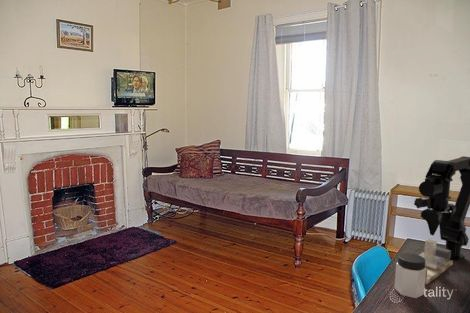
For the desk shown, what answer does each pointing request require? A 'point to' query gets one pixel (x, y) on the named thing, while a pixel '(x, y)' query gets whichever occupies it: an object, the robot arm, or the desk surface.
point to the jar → (410, 275)
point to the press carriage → (431, 255)
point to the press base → (434, 273)
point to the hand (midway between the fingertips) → (436, 232)
